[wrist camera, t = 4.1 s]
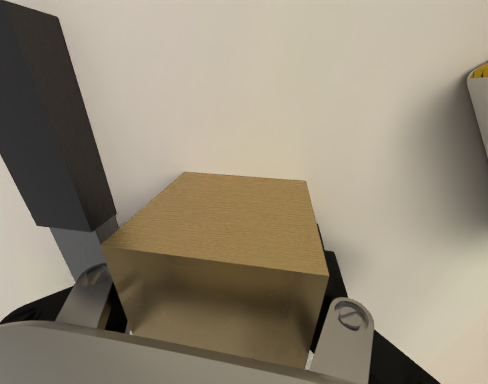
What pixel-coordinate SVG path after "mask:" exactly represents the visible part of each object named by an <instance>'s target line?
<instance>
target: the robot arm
mask: <svg viewBox="0 0 488 384" xmlns="http://www.w3.org/2000/svg"><path fill="white" fill-rule="evenodd" d="M317 228H318V232H319V236H320V240H321V244H322V248H323V252H324V256H325V260H326V265H327V269H328V273H329V279H328V283H327V287H326V290H325V294H324V298H323V302H322V305H321V309H320V313H319V317H318V320H317V324H316V328H315V332H314V335H313V339H312V343H311V347H310V350H311V351H312V352H313V353H314V357H313V360H312V363H311V366H310V369H309V371H308V370H304V369H299V368H295V367H290V366H286V365H281V364H276V363H271V362H266V361H261V360H256V359H251V358H246V357H242V356H237V355H232V354H227V353H222V352H217V351H212V350H207V349H202V348H196V347H191V346H186V345H181V344H176V343H171V342H166V341H161V340H156V339H150V338H145V337H140V336H135V335H130V330H131V328H130V326H129V323H128V320H127V317H126V315H125V312H124V309H123V307H122V304H121V301H120V298H119V296H118V293H117V290H116V288H115V285H114V282H113V280H112V277H111V274H110V271H109V269H108V266H107V263H101V264H97V265H95V266H92V267H90V268H89V269H87V270H85V271H84V272H83V273H82V274H81V275H80V276H79V278H78V279H77V281H76V283H75V285H74V286H72V287H69V288H67V289H64V290H62V291H59V292H57V293H54V294H52V295H49V296H46V297H44V298H41V299H39V300H36V301H34V302H31V303H29V304H26V305H24V306H22V307H20V308H18V309H16V310H14V311H13V312H11V313H10V314H9V315H7V316H6V317H5V318H4V319H3V320H2V321H1V322H0V384H440V383H439V382H438V381H437V380H436V379H434V378H433V377H432V376H431V375H430V374H428V373H427V372H426V371H425V370H423V369H422V368H421V367H420V366H419V365H417V364H416V363H415V362H414V361H412V360H411V359H410V358H409V357H407V356H406V355H405V354H404V353H403V352H401V351H400V350H399V349H398V348H396V347H395V346H394V345H393V344H392V343H390V342H389V341H388V340H387V339H385V338H384V337H383V336H382V335H381V334H379V333H378V332H377V331H376V330H374V320H373V318H372V316H371V314H370V313H369V311H368V310H367V309H366V308H365V307H364V306H363V305H362V304H360V303H359V302H357V301H355V300H353V299H350V298H348V296H347V292H346V289H345V286H344V283H343V279H342V276H341V273H340V270H339V266H338V263H337V260H336V256H335V254H334V252H333V251H325V250H324V246H323V242H322V238H321V234H320V230H319V226H318V224H317Z"/></svg>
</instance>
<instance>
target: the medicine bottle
mask: <svg viewBox="0 0 488 384" xmlns="http://www.w3.org/2000/svg"><path fill="white" fill-rule="evenodd" d="M467 86H468V90H469V94H470V97H471V101H472V104H473V108H474V111H475V115H476V119H477V122H478V126H479V129H480V133H481V136H482V140H483V144H484V147H485V151H486V154H487V158H488V62H487V63H485V64H484V65H482V66H480V67H478V68H476V69H475V70H473V71H472V72H471V73H470V74H469V76H468V77H467Z"/></svg>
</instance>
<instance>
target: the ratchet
mask: <svg viewBox="0 0 488 384" xmlns="http://www.w3.org/2000/svg"><path fill="white" fill-rule="evenodd" d="M0 155H1V157H2V158H3V160H4V162H5V164H6V166H7V168H8V170H9V172H10V174H11V176H12V178H13V180H14V182H15V184H16V186H17V188H18V190H19V192H20V194H21V196H22V198H23V199H24V201H25V203H26V205H27V207H28V209H29V211H30V213H31V215H32V217H33V219H34V221H35V223H36V225H37V226H43V227H49V228H50V230H51V232H52V234H53V236H54V238H55V241H56V243H57V245H58V247H59V249H60V251H61V253H62V255H63V257H64V259H65V261H66V263H67V265H68V267H69V270H70V272H71V274H72V276H73V278H74V280H75V282H76V281H77V279H78V278H79V276H80V275H81V274H82V273H83V272H84V271H85V270H87V269H89V268H90V267H92V266H95V265H97V264H101V263H106V261H105V258H104V255H103V253H102V250H101V247H100V245H101V244H102V243H103V242H104V241H106V240H107V239H108V238H109V237H110V236H111V235H113V234H114V233H115V232H116V231H117V230H118V226H117V222H116V219H115V216H114V215H115V214H116V210H115V207H114V204H113V200H112V197H111V194H110V190H109V187H108V184H107V180H106V177H105V174H104V170H103V167H102V164H101V160H100V157H99V154H98V150H97V147H96V144H95V140H94V137H93V134H92V130H91V127H90V124H89V120H88V117H87V114H86V110H85V107H84V104H83V101H82V97H81V94H80V91H79V87H78V84H77V81H76V77H75V74H74V71H73V67H72V64H71V61H70V57H69V54H68V51H67V47H66V44H65V41H64V37H63V34H62V31H61V27H60V24H59V21H58V17H56V16H53V15H50V14H47V13H43V12H40V11H37V10H34V9H30V8H27V7H24V6H21V5H18V4H14V3H11V2H8V1H5V0H0ZM130 335H133V334H132V331H131V330H130Z"/></svg>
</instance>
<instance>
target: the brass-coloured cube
mask: <svg viewBox="0 0 488 384" xmlns="http://www.w3.org/2000/svg"><path fill="white" fill-rule="evenodd" d="M100 247H101V250H102V253H103V255H104V258H105V261H106V263H107V266H108V269H109V271H110V274H111V277H112V280H113V282H114V285H115V288H116V290H117V293H118V296H119V298H120V301H121V304H122V307H123V309H124V312H125V315H126V317H127V320H128V323H129V326H130V328H131V331H132V334H133V335H135V336H140V337H145V338H150V339H156V340H161V341H166V342H171V343H176V344H181V345H186V346H191V347H196V348H202V349H207V350H212V351H217V352H222V353H227V354H232V355H237V356H242V357H246V358H251V359H256V360H261V361H266V362H271V363H276V364H281V365H286V366H290V367H295V368H299V369H305V365H306V362H307V358H308V354H309V350H310V347H311V343H312V339H313V335H314V332H315V328H316V324H317V320H318V317H319V313H320V309H321V305H322V302H323V298H324V294H325V290H326V287H327V283H328V279H329V273H328V269H327V265H326V260H325V256H324V252H323V248H322V244H321V240H320V236H319V232H318V228H317V224H316V220H315V215H314V211H313V207H312V203H311V199H310V195H309V191H308V187H307V183H306V181H297V180H283V179H270V178H256V177H243V176H229V175H216V174H202V173H189V172H184V173H183V174H182V175H181V176H179V177H178V178H177V179H176V180H175V181H174V182H173V183H171V184H170V185H169V186H168V187H167V188H166V189H164V190H163V191H162V192H161V193H160V194H159V195H158V196H156V197H155V198H154V199H153V200H152V201H151V202H149V203H148V204H147V205H146V206H145V207H144V208H143V209H141V210H140V211H139V212H138V213H137V214H136V215H134V216H133V217H132V218H131V219H130V220H129V221H128V222H126V223H125V224H124V225H123V226H122V227H121V228H119V229H118V230H117V231H116V232H115V233H114V234H113V235H111V236H110V237H109V238H108V239H107V240H106V241H104V242H103V243H102V244H101V245H100Z"/></svg>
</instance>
